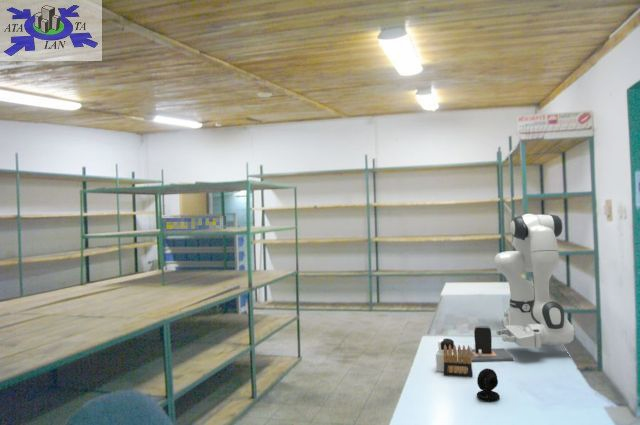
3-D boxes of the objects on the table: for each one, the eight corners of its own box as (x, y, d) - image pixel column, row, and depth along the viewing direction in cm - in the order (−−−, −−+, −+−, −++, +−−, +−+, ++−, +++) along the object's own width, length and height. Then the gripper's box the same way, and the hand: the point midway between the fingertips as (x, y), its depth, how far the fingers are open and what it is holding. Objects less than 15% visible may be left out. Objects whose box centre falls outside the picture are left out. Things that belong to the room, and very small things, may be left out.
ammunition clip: (472, 375, 194) (471, 344, 193) (472, 377, 192) (471, 346, 192) (444, 373, 197) (442, 343, 197) (443, 375, 196) (442, 344, 195)
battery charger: (492, 351, 218) (490, 325, 217) (492, 354, 214) (491, 327, 214) (475, 350, 220) (473, 324, 219) (475, 353, 216) (473, 327, 216)
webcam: (486, 404, 167) (485, 374, 167) (471, 396, 174) (470, 367, 174) (504, 399, 170) (503, 369, 170) (489, 391, 177) (487, 363, 177)
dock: (457, 351, 223) (457, 342, 223) (503, 350, 221) (503, 341, 221) (463, 362, 209) (463, 352, 209) (513, 360, 207) (512, 351, 207)
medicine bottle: (457, 367, 204) (456, 337, 203) (454, 373, 197) (453, 342, 197) (440, 365, 207) (438, 336, 206) (436, 371, 200) (435, 341, 200)
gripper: (525, 321, 224) (493, 322, 225) (541, 333, 203) (505, 334, 204) (525, 335, 224) (493, 336, 225) (541, 349, 203) (506, 350, 205)
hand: (499, 335), depth 215 cm, fingers open, 8 cm apart
